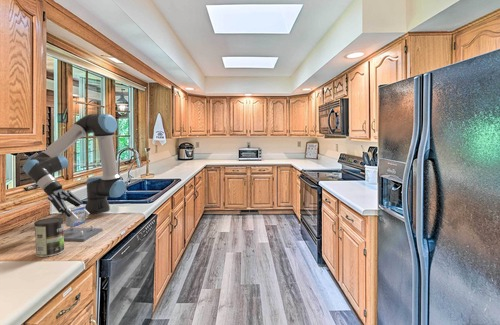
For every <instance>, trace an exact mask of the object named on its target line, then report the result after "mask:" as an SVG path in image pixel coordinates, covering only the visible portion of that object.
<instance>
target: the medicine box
mask: <svg viewBox="0 0 500 325" xmlns="http://www.w3.org/2000/svg"><path fill="white" fill-rule="evenodd" d="M68 209H70V210H71V211H72V212H73V213H74V214H75V215H76V216H77V217H78V219H77V220H76V221H75V222H73V221H72V220H71V219H70V218H69V217H68V216H67V215H66V214H65V226H66V227H67V228H70V227H74V228H76V227H78V226H79V225H83V224H85V223H86V217H85V206H84V205H82V206H78V207H76V206H74V207H71V208H67V210H68Z"/></svg>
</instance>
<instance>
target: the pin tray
mask: <svg viewBox="0 0 500 325" xmlns="http://www.w3.org/2000/svg"><path fill="white" fill-rule="evenodd" d="M63 231H64V242H66V241H67V242H86V241H87V240H89V239H91V238H92V237H93V238H94V237H95V236H96V235H98V234H100V233H101V232H103V231H104V229H103V228H98V227H97V228H95V227H94V225H90V227H86V228H85V227H67V228H66V229H65V230H64V229H63Z"/></svg>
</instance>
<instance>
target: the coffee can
mask: <svg viewBox="0 0 500 325" xmlns="http://www.w3.org/2000/svg"><path fill="white" fill-rule="evenodd" d="M33 223H34V236H35V237H34V238H35V239H34V240H35V255H36V257H39V258H49V257H54V256H58V255H60V254H62V253H64V252H63V251H65V241H64V218H63V217H47V218H41V219H38V220H35V221H34V222H33ZM57 254H58V255H57ZM53 255H54V256H53ZM48 256H49V257H48Z"/></svg>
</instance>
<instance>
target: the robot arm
mask: <svg viewBox="0 0 500 325" xmlns="http://www.w3.org/2000/svg"><path fill="white" fill-rule="evenodd" d="M117 129H118V122H117V119H116V118H115V117H114V116H113V115H111V114H108V113H98V114H97V113H95V114H94V113H91V114H87V115H85V116H82V117H81V118H79V119H77V121H75V122H74V123H73V124H72V125H71V128H69V129H68V130H67V131H65V132H64V133H63V134H62V135H60V137H58V138H56V140H54V141H53V142H52V143H51V144H49V145H48V146H47V147H46V148H47V150H45V149H44V150H45V151H43V150H42V151H41V152H39V153H38V154H37V155H35V156H30V157H28V158H27V159H26V162H25V163H24V164H23V166H22V170H23V171H24V173H25V174H26V176H28V177H29V178H30V180H32V181H33V182H34V183H35V184H36V185H37V186H38V187H39V188H40V189H41V190H42V191H43V192H44V193H45V195H47V196H48V197H47V198H46V199H48V200H49V202H51V204H52V205H53V206H54V208H55V209H56V211H58V213H60V214H61V215H62V214H63V215H64V214H65V216H66V215H67V216H68V217H69V218H70V219H71V220H72V221H73V222H75V221H76V220H77V219H78V217H77V216H76V215H75V214H74V213H73V212H72V211H71V210H70V208H68V207H67V205H66V202H67V203H69V204H71V205H73V206H74V207H78V206H83V205H82V204H83V201H82V200H81V199H80V198H78V197H77V196H76V195H75V194H73V193H72V191H71V190H70V189H67V190H64V189H63V185H62V184H61V183H60V182H59V181H58V180H57V179H56V178H55V177H54V175H52V174H55V173H57V172H60V171H63V170H64V169H66V168H68V166H69V161H68V159H67V158H66V157H65V155H63V153H65V152H66V151H67V150H68V149H69V148H70V147H71V146H72V145H73V144H75V143H77V141H79V140H80V139H81V138H84V137H86V136H87V135H89V134H92V133H93V137H94V138H96V139H97V146H98V151H99V152H98V153H99V158H100V165H101V169H102V170H101V171H102V176H93V177H89V178H87V179H86V198H87V200H86V203H85V206H84V207H85V218H87V217H88V216H89V215H90V214H98V213H105V212H108V211H110V210H111V207H110V204H109V201H108V198H113V199H114V198H119V197H121V196H123V195H124V193H125V192H126V189H127V188H126V187H127V184H126V182H125V181H124V180H123V179H122V178H121V174H119V173H118V168H117V161H116V154H115V152H116V151H115V145H114V141H113V140H114V139H113V138H114V137H115V135H116V134H115V132H116V131H117ZM107 197H108V198H107ZM67 209H68V210H67Z"/></svg>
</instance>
